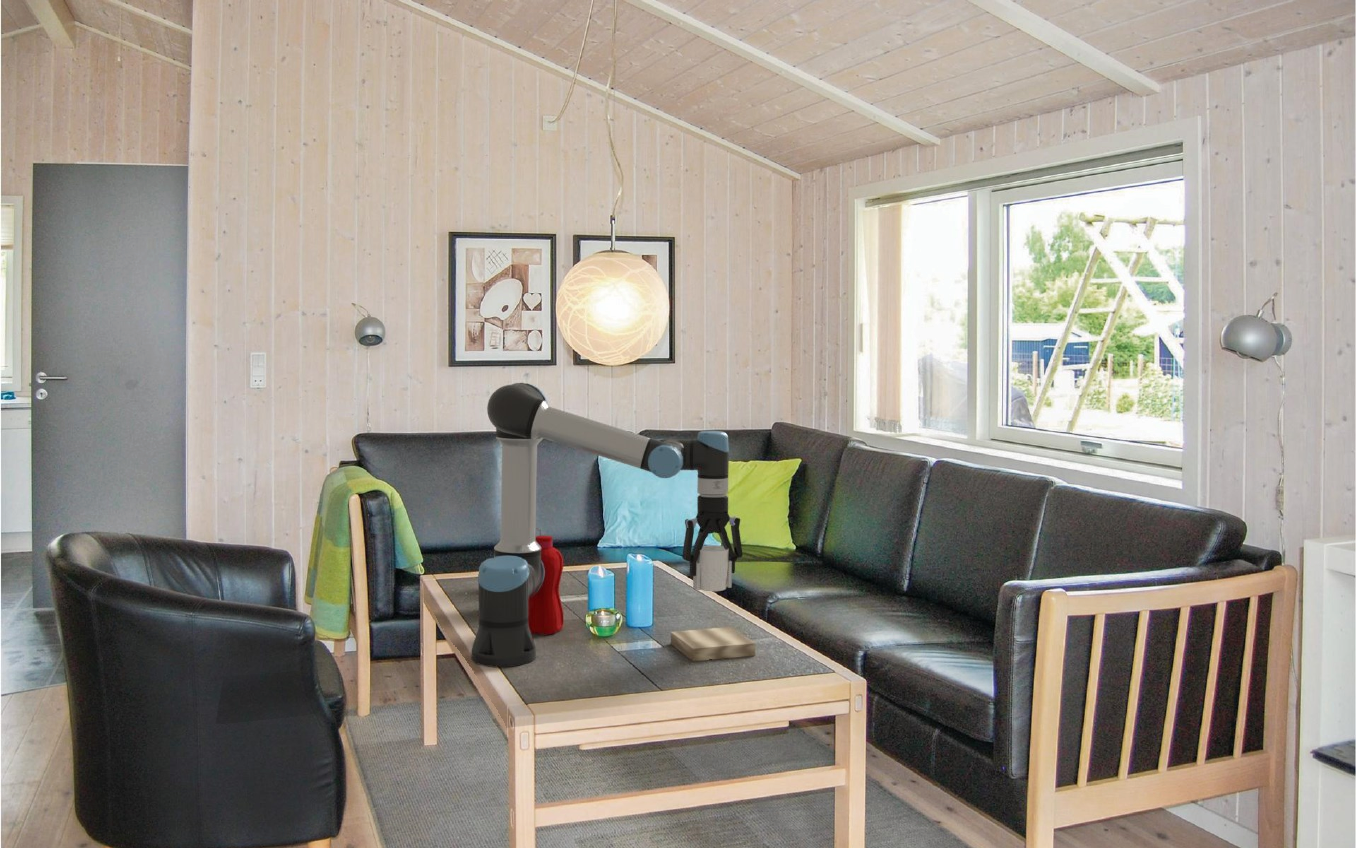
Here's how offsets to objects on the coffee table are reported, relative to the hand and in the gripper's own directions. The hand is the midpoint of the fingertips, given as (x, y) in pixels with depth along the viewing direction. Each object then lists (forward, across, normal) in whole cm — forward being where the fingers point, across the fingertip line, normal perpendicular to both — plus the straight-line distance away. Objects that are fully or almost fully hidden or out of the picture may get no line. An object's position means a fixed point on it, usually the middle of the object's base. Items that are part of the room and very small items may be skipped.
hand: (712, 587), depth 272 cm
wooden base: (+15, 0, 0) cm, 15 cm away
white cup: (0, 0, 0) cm, 0 cm away
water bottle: (+15, -35, +30) cm, 49 cm away
